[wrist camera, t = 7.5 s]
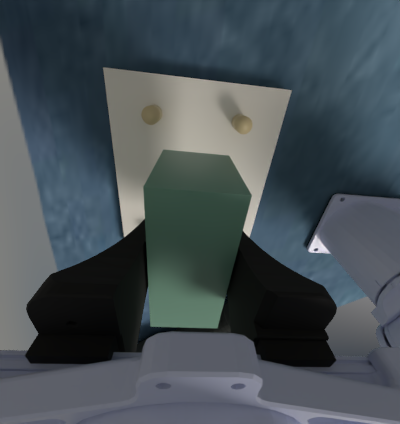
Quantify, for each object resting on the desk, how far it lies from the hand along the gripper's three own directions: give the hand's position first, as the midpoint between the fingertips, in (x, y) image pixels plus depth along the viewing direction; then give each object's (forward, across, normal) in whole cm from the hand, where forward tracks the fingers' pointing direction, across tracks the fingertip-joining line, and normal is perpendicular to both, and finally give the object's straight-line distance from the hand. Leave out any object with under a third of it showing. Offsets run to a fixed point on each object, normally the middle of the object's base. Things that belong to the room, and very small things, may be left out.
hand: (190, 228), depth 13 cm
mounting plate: (+8, 0, 0) cm, 8 cm away
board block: (+2, 0, 0) cm, 2 cm away
